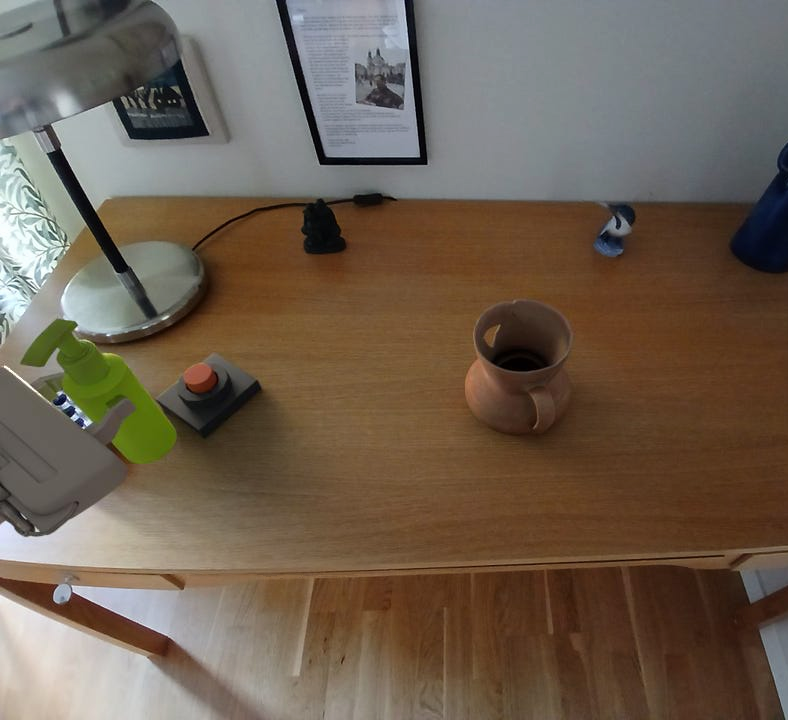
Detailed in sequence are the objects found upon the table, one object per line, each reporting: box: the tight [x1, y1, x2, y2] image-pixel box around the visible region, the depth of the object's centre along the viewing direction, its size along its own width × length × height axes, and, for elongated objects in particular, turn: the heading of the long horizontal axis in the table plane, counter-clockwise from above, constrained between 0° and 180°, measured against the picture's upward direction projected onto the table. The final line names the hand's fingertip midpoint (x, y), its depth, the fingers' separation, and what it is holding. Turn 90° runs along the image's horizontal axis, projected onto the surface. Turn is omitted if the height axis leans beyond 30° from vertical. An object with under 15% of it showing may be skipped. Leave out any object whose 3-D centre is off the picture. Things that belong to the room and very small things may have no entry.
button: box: [183, 362, 217, 394], centre depth 74 cm, size 4×4×2 cm
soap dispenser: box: [19, 318, 178, 465], centre depth 58 cm, size 6×7×20 cm
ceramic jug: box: [464, 298, 574, 437], centre depth 72 cm, size 18×14×14 cm
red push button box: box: [154, 352, 263, 440], centre depth 76 cm, size 10×9×4 cm
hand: (107, 384), depth 58 cm, fingers closed on soap dispenser, 6 cm apart
